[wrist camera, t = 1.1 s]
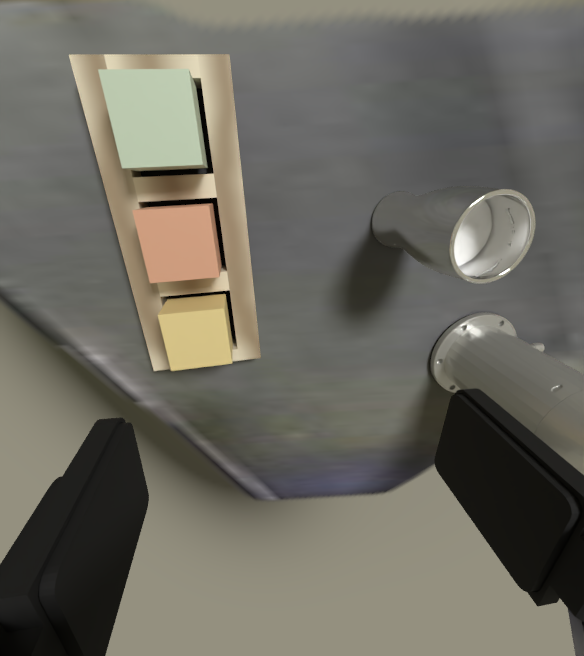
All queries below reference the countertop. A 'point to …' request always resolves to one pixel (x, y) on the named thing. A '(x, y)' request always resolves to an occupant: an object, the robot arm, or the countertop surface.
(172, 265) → the terracotta button
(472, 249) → the beer glass
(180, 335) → the ochre button
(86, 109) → the button board
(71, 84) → the countertop surface
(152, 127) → the sage button
